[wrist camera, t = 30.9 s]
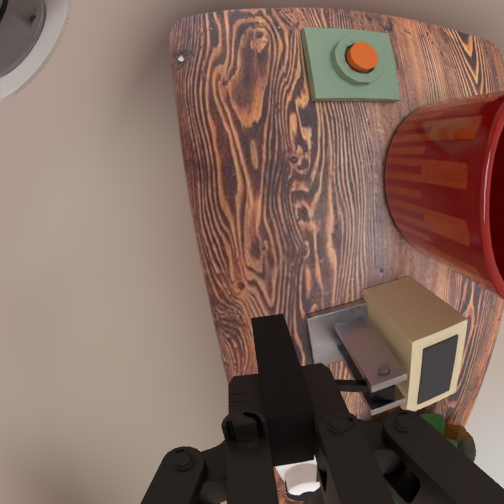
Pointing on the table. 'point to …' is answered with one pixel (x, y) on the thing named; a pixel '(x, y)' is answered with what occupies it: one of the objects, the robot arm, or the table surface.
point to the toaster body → (418, 338)
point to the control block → (348, 66)
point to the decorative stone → (461, 440)
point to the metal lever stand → (356, 350)
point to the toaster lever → (365, 389)
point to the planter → (452, 185)
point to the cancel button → (362, 57)
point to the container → (300, 480)
